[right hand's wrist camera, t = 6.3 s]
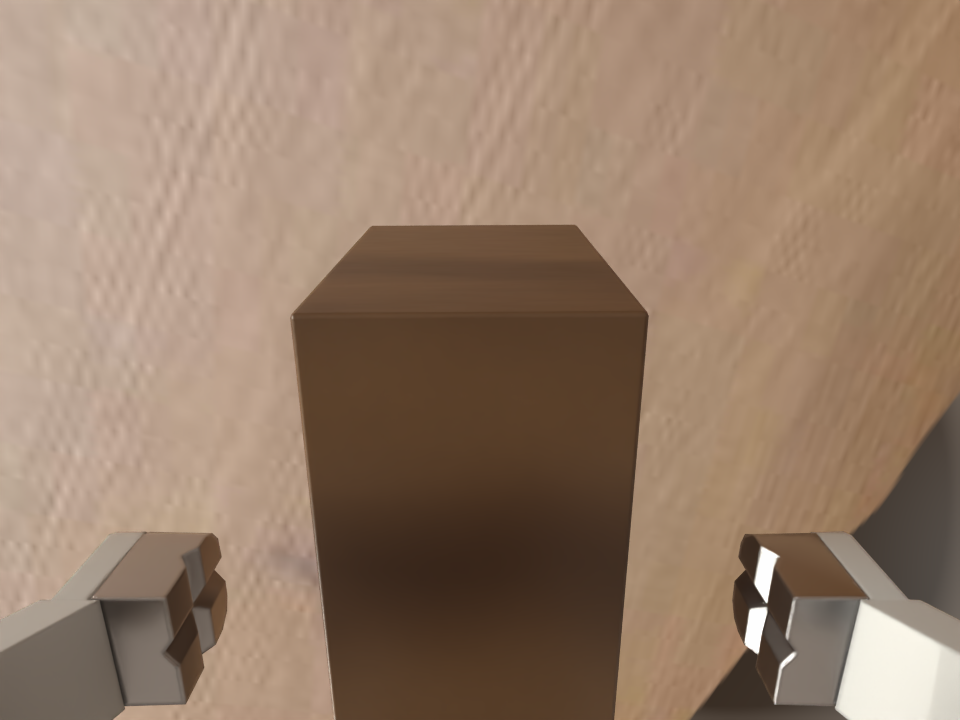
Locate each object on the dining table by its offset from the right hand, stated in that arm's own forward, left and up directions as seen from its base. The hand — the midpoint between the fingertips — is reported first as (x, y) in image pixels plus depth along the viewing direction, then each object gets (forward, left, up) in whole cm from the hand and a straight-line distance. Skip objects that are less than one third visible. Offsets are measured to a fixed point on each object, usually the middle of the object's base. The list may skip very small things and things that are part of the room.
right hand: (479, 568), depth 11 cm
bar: (+7, 0, -9) cm, 12 cm away
